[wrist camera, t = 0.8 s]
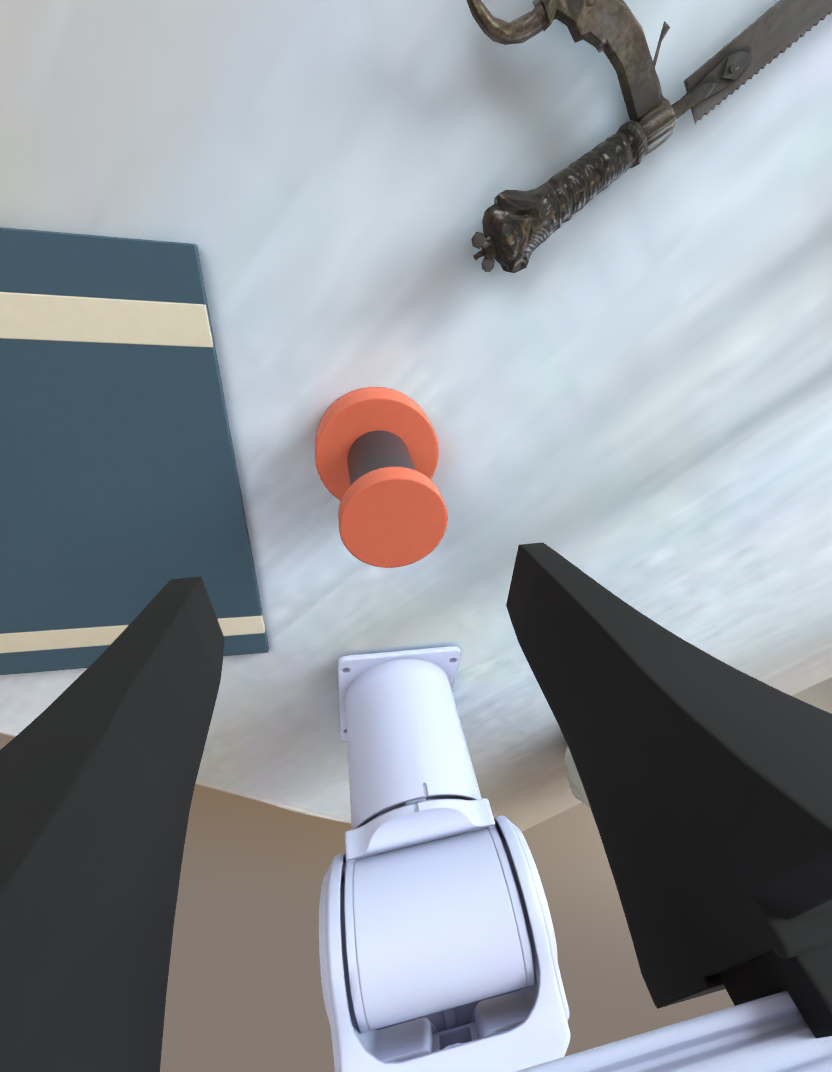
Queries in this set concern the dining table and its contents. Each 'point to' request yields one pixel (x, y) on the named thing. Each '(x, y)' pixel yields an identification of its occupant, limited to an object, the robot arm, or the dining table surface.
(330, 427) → the orange thread spool
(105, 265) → the tea towel
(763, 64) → the hacksaw
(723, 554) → the dining table surface
